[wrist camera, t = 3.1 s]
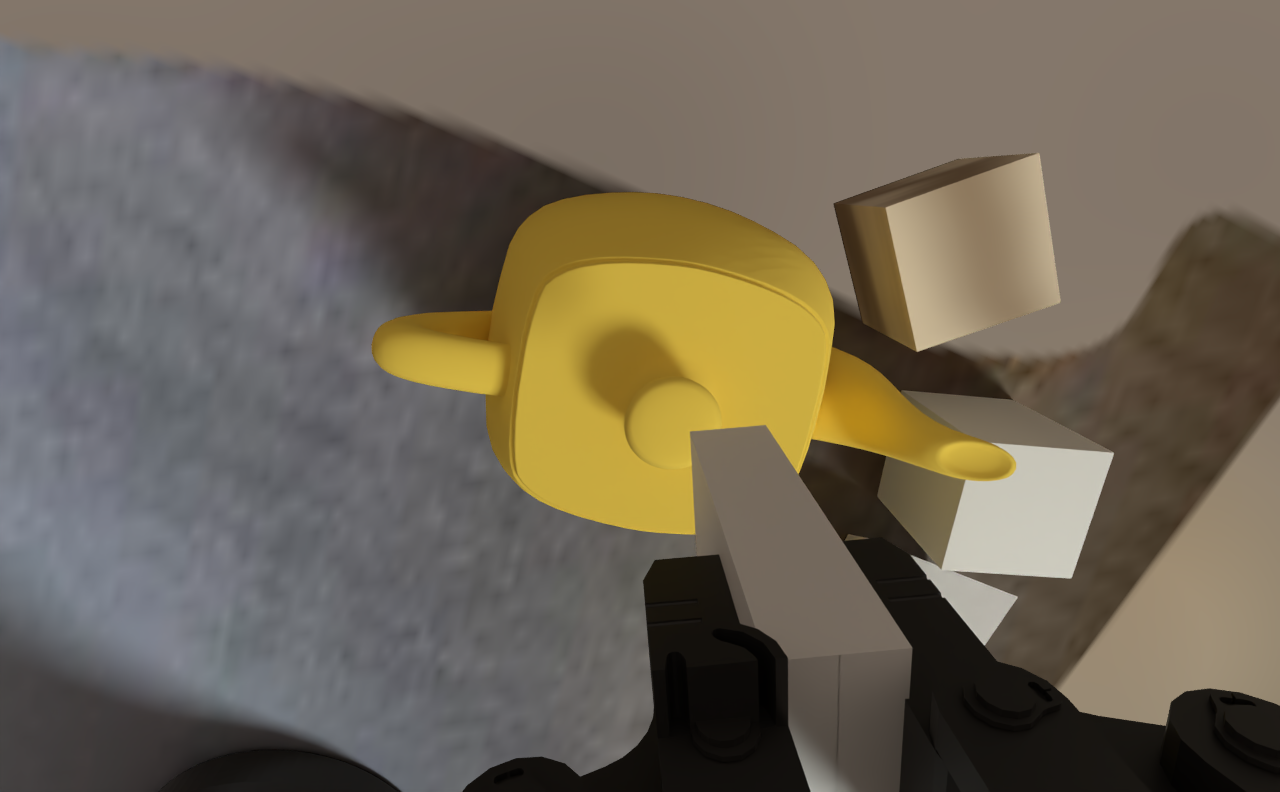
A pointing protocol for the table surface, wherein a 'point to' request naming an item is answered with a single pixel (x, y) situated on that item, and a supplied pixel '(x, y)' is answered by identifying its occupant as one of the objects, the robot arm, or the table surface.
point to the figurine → (968, 597)
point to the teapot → (660, 359)
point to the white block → (1000, 492)
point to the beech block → (951, 249)
